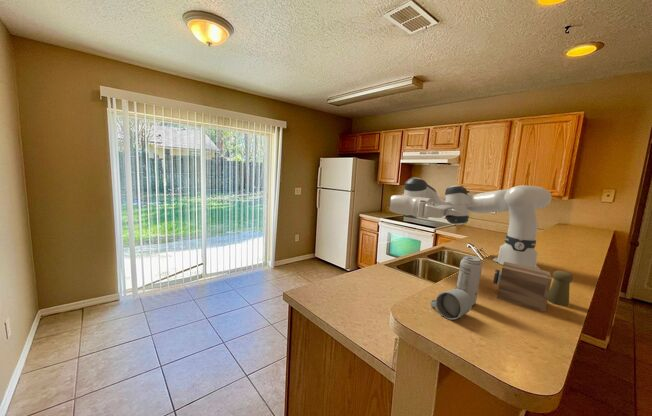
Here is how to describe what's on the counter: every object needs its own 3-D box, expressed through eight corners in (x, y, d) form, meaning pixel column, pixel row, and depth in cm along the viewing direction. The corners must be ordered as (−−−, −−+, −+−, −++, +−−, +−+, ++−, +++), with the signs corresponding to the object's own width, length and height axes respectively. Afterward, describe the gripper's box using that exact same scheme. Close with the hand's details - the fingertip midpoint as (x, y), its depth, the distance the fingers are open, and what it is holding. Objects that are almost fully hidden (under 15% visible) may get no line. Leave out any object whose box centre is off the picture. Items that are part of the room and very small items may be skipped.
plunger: (493, 280, 99) (496, 267, 98) (537, 292, 92) (540, 278, 91) (492, 285, 95) (495, 271, 94) (537, 297, 88) (540, 282, 87)
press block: (498, 289, 100) (504, 261, 98) (543, 302, 92) (549, 271, 91) (496, 298, 93) (502, 267, 91) (544, 312, 85) (551, 279, 84)
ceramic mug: (472, 316, 79) (475, 291, 78) (459, 325, 74) (463, 298, 73) (437, 301, 87) (440, 279, 86) (424, 308, 82) (427, 284, 81)
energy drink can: (478, 308, 84) (486, 262, 82) (459, 306, 85) (466, 260, 82) (469, 299, 90) (476, 256, 88) (451, 297, 91) (458, 254, 88)
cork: (573, 307, 90) (580, 276, 89) (552, 304, 91) (559, 273, 90) (561, 299, 96) (567, 270, 95) (542, 296, 97) (548, 267, 96)
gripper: (430, 213, 124) (463, 218, 116) (416, 217, 108) (453, 224, 100) (432, 199, 123) (466, 204, 115) (418, 202, 107) (456, 207, 99)
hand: (460, 213), depth 107 cm, fingers closed
